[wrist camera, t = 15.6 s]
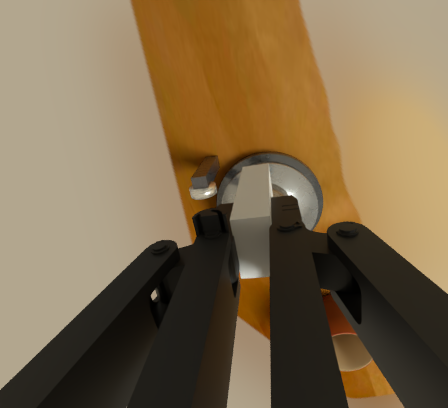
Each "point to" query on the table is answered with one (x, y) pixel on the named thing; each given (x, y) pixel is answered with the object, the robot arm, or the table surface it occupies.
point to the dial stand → (205, 179)
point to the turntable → (290, 182)
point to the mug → (345, 339)
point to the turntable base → (277, 158)
